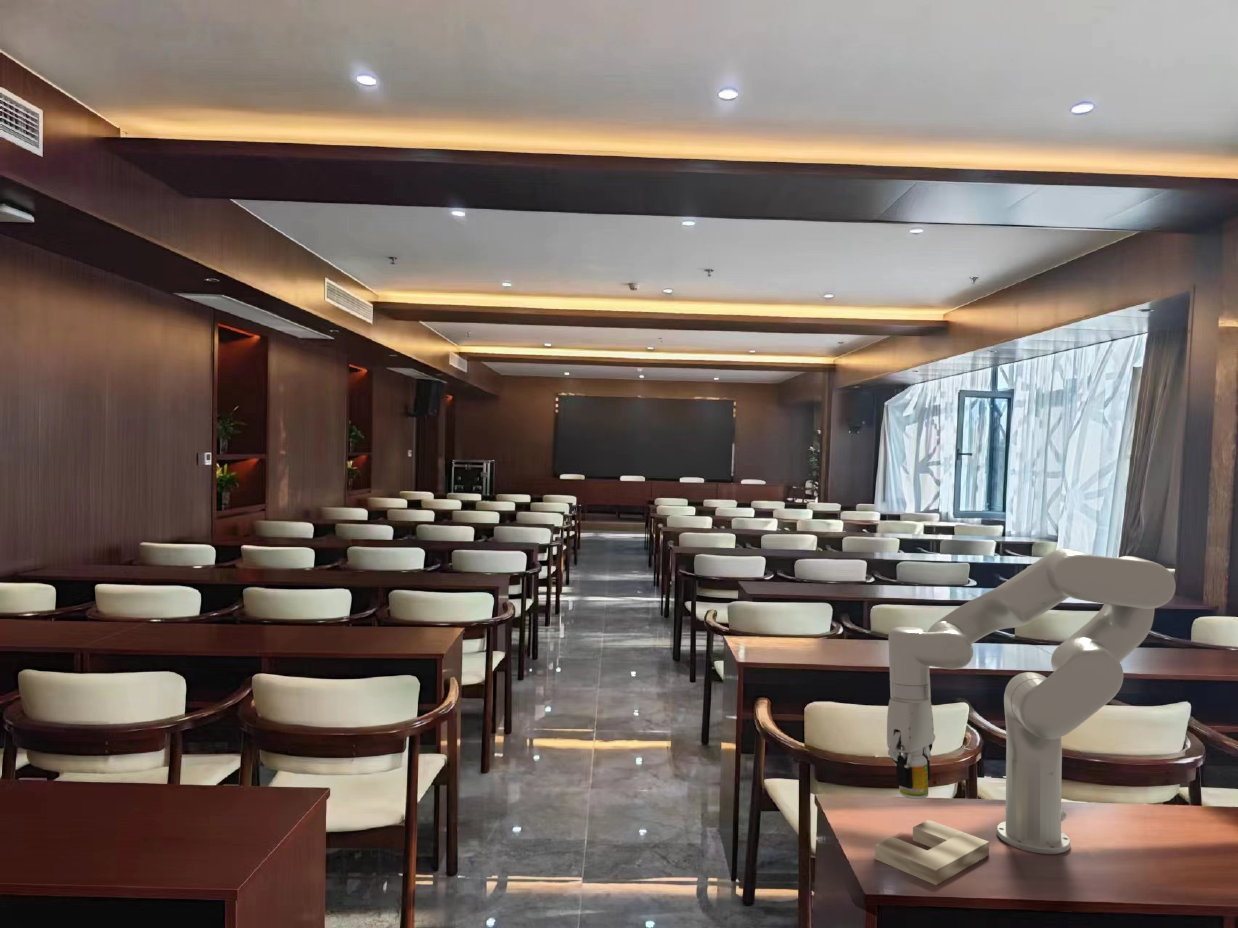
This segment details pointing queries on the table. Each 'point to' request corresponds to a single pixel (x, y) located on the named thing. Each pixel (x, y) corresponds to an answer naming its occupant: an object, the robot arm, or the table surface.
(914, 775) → the supplement bottle
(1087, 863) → the table surface
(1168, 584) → the robot arm
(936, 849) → the notched board
